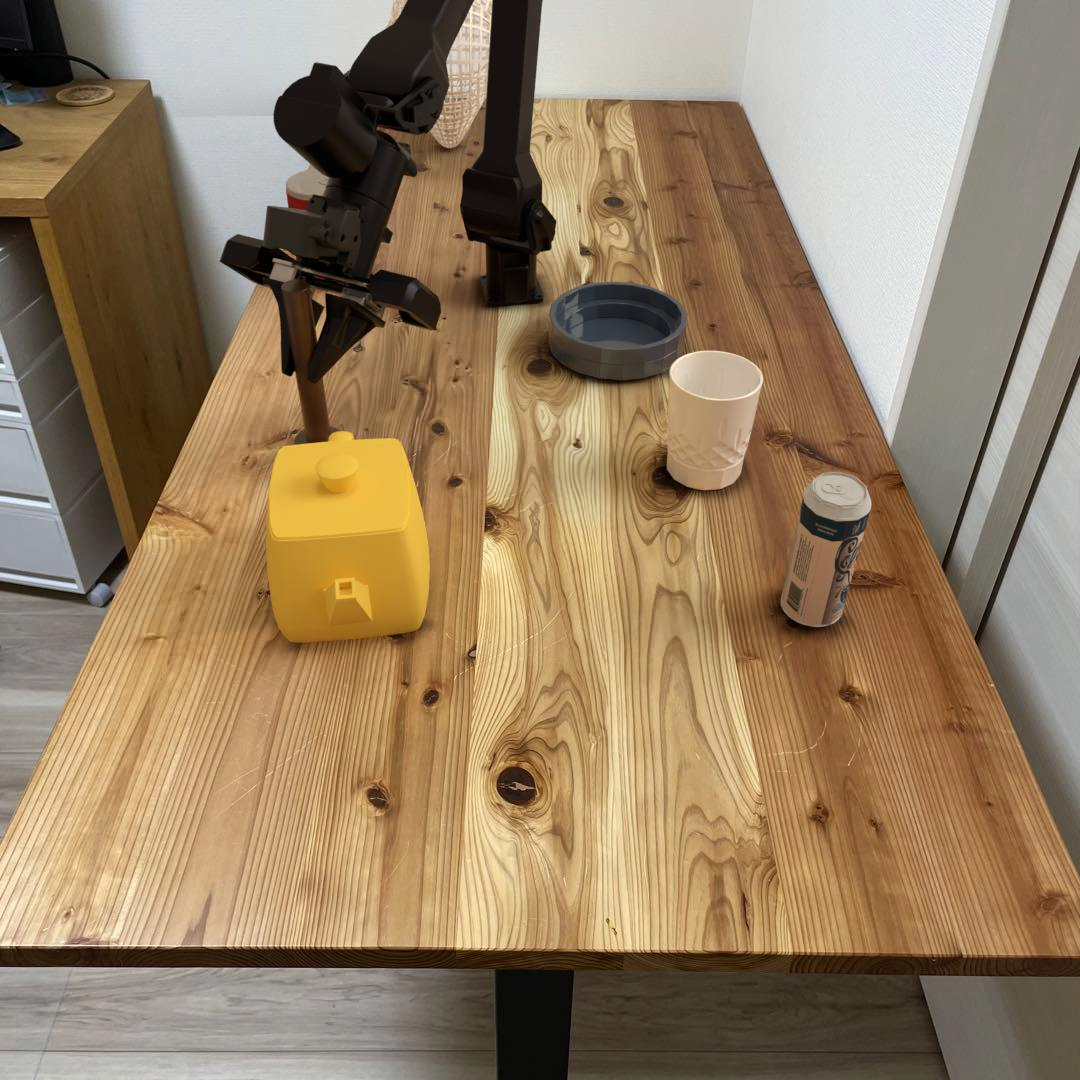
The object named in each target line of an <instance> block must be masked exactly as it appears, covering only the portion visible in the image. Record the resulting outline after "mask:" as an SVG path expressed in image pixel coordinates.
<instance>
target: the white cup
mask: <svg viewBox="0 0 1080 1080" xmlns="http://www.w3.org/2000/svg"><path fill="white" fill-rule="evenodd" d="M763 381H764V375H763V373H762V371H761V369H760V368H759V367H758V366H757V365H756V364H755V363H754V362H752V361H751V360H749V359H747V358H745V357H743V356H741V355H740V354H739V355H738V354H735V353H731V352H728V351H727V352H726V351H723V350H699V351H693V352H689V353H687V354H683V355H682V356H681V357H680V358H678V359H677V360H676V361H674V363H673V364H672V365H671V367H670V368H669V374H668V392H667V393H668V395H667V408H666V409H667V410H666V419H667V421H666V440H665V441H666V444H667V452H666V456H667V457H666V471H667V472H668V473H669V474H670V476H671V477H672V479H673V480H674V481H676V482H677V483H679V484H681V485H683V486H685V487H687V488H690V489H695V490H701V491H716V490H722V489H724V488H726V487H728V486H731V485H734V483H735V482H736V481H737V480H738V479H739V477H740V476H741V474H742V470H743V465H744V460H745V455H746V452H747V449H748V446H749V443H750V439H751V434H752V432H753V427H754V424H755V419H756V413H757V409H758V405H759V401H760V396H761V391H762V387H763V383H764V382H763Z"/></svg>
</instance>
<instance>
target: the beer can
mask: <svg viewBox="0 0 1080 1080" xmlns="http://www.w3.org/2000/svg"><path fill="white" fill-rule="evenodd" d="M871 510H872V499H871V496H870V493H869V491H868V486H867V485H866V484H865V483H864V482H862V481H861V480H860V479H859V478H858V477H857V476H855V475H851V474H848V473H845V472H843V471H842V472H841V471H832V472H821V474H819V475H818V476H817V477H815V478H813V479H812V481H811V482H810V483H809V484H808V485H806V487H805V489H803V495H802V500H801V505H800V510H799V514H798V518H797V523H796V529H795V531H794V537H793V542H792V547H791V551H790V556H789V561H788V565H787V570H786V574H785V579H784V584H783V587H782V593H781V597H780V606H781V609H782V611H783V612H784V613H785V614H786V615H787V617H788V618H790V619H791V620H792V621H794V622H796V623H799V624H801V625H803V626H808V627H810V628H822V627H829V626H831V625H833V624H835V623H837V621H839V620H840V619H841V618H842V616H843V612H844V609H845V605H846V602H847V597H848V594H849V590H850V586H851V583H852V579H853V575H854V572H855V567H856V564H857V560H858V557H859V554H860V549H861V546H862V542H863V539H864V535H865V531H866V527H867V523H868V520H869V516H870V514H871Z"/></svg>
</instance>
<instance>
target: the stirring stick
mask: <svg viewBox="0 0 1080 1080" xmlns="http://www.w3.org/2000/svg"><path fill="white" fill-rule="evenodd" d="M281 289H282V296H283V302H284V308H285V314H286V320H287V326H288V332H289V338H290V344H291V350H292V356H293V362H294V368H295V371H294V374H295V379H296V386H297V391H298V398H299V405H300V411H301V416H302V423H303V429H302V430H301V431H300V432H298V433H297V434H296V435H295V436H294V438H293V439H294V440H293V445H298V444H308V443H319V442H328V439H329V436H330V435H331V434H332V433H335V432H338V431H341V430H340V429H339V428H337V427H335V426H332V425H330V419H329V412H328V405H327V399H326V392H325V391H326V390H325V385H324V378H323V377H324V376H323V377H322V378H321V379H320V380H319V382H318V383H316V384H313V383H311V382H309V381H307V375H308V370H309V366H310V362H311V359H312V356H313V353H314V351H315V348H316V345H317V342H318V337H317V329H316V328H317V327H316V328H315V322H314V315H313V308H312V301H311V294H310V287H309V283H308V282H307V281H305V280H301V279H294V280H289V281H286V282H284V283H283V284H282V286H281Z"/></svg>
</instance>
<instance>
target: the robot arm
mask: <svg viewBox="0 0 1080 1080" xmlns="http://www.w3.org/2000/svg"><path fill="white" fill-rule="evenodd" d="M473 2H474V0H407V1H406V3H405V5H404V7H403V9H402V11H401V13H400V15H399V17H398V18H397V20H396V21H395V23H394V24H392V25H391V26H389V27H388V28H386V27H385V28H384V29H383V30H381V31H379V32H377V33H376V34H375V35H373V36H372V37H370V38H369V40H368V42H367V43H366V44H365V46H364V47H363V48H362V49H361V51H360V53H358V55H357V57H356V58H355V60H354V61H353V63H352V65H350V68H349V69H348V70H347V71H346V72H343V71H341V69H340V68H339V67H338V65H336V64H335V65H334V64H329V63H323V62H319V61H318V62H317V61H315V62H313V64H312V66H311V70H310V73H309V74H308V75H306V76H303V77H300V78H299V79H297V80H295V81H294V82H291V84H290V85H289V86H288V87H287V88H286V89H285V90H284V91H283V93H282V94H281V95H279V96H278V97H277V99H276V102H275V104H274V109H273V113H272V114H273V125H274V129H275V131H276V133H277V135H278V136H279V138H281V139H282V140H283V141H284V142H285V143H286V144H287V145H288V146H289V147H290V148H292V149H293V150H294V151H295V152H296V153H297V154H298V155H300V157H302V158H303V159H304V160H305V161H306V162H307V163H309V164H310V165H311V166H312V167H313V169H317V170H318V171H319V172H320V173H321V174H323V175H325V176H327V177H329V179H328V182H327V185H326V188H325V191H324V194H323V196H319V195H314V194H313V196H312V198H310V199H309V201H308V204H307V207H306V209H305V210H301V209H295V208H288V206H287V207H285V206H278V205H277V206H276V205H267V206H266V213H265V220H264V232H263V239H260V238H255V237H251V236H249V235H248V236H247V235H243V234H240V233H236V234H235V235H233V236H232V237H230V238H228V239H227V241H226V242H225V244H224V246H223V250H222V253H221V256H220V259H219V262H220V263H221V264H223V265H224V266H226V267H228V268H229V269H230V270H232V271H233V272H236V273H237V274H239V275H240V276H242V277H243V278H245V279H247V280H248V281H250V282H252V283H253V284H256V285H259V286H261V287H265V288H268V289H270V290H271V292H272V294H273V296H274V299H275V301H276V303H277V307H278V316H279V324H280V325H279V326H280V368H281V369H280V370H281V374H283V375H285V376H287V377H292V376H293V375H294V374H295V368H294V362H293V356H292V350H291V344H290V338H289V332H288V326H287V320H286V314H285V308H284V302H283V296H282V289H281V286H282V284H283V283H284V282H286V281H289V280H294V279H301V280H305V281H307V282H308V283H309V287H310V294H311V301H312V308H313V315H314V322H315V328H317V325H318V324H319V320H320V319H321V316H322V314H323V312H324V310H325V319H324V323H323V325H322V328H321V331H320V333H319V337H318V338H317V345H316V348H315V351H314V353H313V356H312V359H311V362H310V366H309V370H308V375H307V381H309V382H311V383H313V384H316V383H318V382H319V380H320V379H321V378H322V377H324V376H325V375H326V374H328V372H329V371H331V369H332V368H333V367H334V366H335V365H336V364H337V363H338V362H339V361H340V360H341V359H342V358H343V356H344V355H346V354H347V353H348V352H349V351H350V350H351V349H352V348H353V347H354V346H356V344H358V342H360V341H361V340H362V339H363V338H365V336H367V335H368V334H370V332H371V331H373V330H374V329H375V328H381V329H383V328H385V326H386V324H387V322H386V321H385V320H383V318H384V315H385V312H386V308H388V309H393V310H396V311H397V312H398V314H399V317H400V318H401V321H402V323H404V324H405V325H409V326H412V327H416V328H420V329H424V330H428V331H432V332H433V331H436V329H437V326H438V322H439V320H440V316H441V314H442V306H441V305H442V304H441V300H440V297H439V296H438V295H437V294H436V293H435V292H434V291H433V290H431V288H428V286H427V285H425V284H424V283H423V282H421V280H419V279H418V278H417V277H414V276H410V275H406V274H402V273H397V272H394V271H390V270H386V269H381V268H380V269H379V270H377V271H376V272H375V273H374V274H373V273H372V271H373V268H374V265H375V262H376V259H377V256H378V253H379V250H380V247H381V244H382V243H384V244H388V245H390V244H391V240H392V238H393V234H394V232H393V231H392V230H391V229H389V228H388V224H389V220H390V217H391V215H392V212H393V208H394V205H395V202H396V200H397V197H398V195H399V194H398V193H399V191H400V189H401V185H402V182H403V179H404V176H405V177H410V178H415V177H417V175H418V167H417V163H416V161H415V159H414V157H413V155H412V150H411V145H410V143H407V142H401V141H397V140H396V139H395V138H394V137H393V136H392V135H390V134H389V133H387V132H385V131H383V130H388V131H393V132H399V133H403V134H409V135H413V136H421V135H424V134H426V135H427V134H428V133H430V130H431V129H432V128H433V126H434V125H436V124H435V123H436V122H437V120H438V119H439V117H440V115H441V113H442V111H443V104H444V100H445V101H446V98H447V97H446V95H447V92H448V91H449V90H450V87H449V76H448V73H449V72H448V71H449V70H448V66H447V65H448V64H446V61H447V60H448V58H449V52H450V50H451V47H453V46H454V44H453V43H454V41H456V39H457V35H458V33H459V31H460V29H461V30H462V28H463V27H462V25H463V23H465V21H464V20H465V18H466V16H467V17H468V15H469V14H468V12H469V10H470V8H471V6H472V4H473ZM542 11H543V0H492V10H491V12H492V13H491V29H490V45H489V61H488V77H487V93H486V99H485V111H484V127H483V128H484V129H483V141H482V142H483V143H482V150H481V152H480V154H479V156H477V158H476V160H475V161H474V163H473V165H471V167H466V168H465V170H464V171H463V174H462V176H461V182H462V183H461V184H462V189H461V190H462V192H461V197H460V198H461V199H460V202H459V211H460V215H461V219H462V222H463V226H464V230H465V234H466V237H467V241H469V242H477V243H481V244H482V243H483V244H485V275H481V276H479V282H480V286H481V289H482V293H483V296H484V300H485V303H486V305H488V307H489V306H490V307H493V306H505V305H518V304H529V303H530V304H532V303H542V302H544V300H545V296H544V293H543V290H542V287H541V285H540V282H539V279H538V277H537V276H538V274H537V272H538V266H537V263H538V255H539V254H540V253H543V252H549V251H551V250H552V248H553V247H552V245H553V243H552V242H553V241H554V240H555V235H556V227H557V219H556V218H555V217H554V216H553V214H552V213H551V212H550V210H549V209H548V207H547V206H546V204H545V203H544V202H543V179H542V176H541V174H540V172H539V170H538V167H537V165H536V163H535V161H534V158H533V156H532V154H531V141H532V140H531V139H532V129H533V116H534V106H535V93H536V81H537V70H538V69H537V68H538V57H539V46H540V35H541V24H542V23H541V22H542ZM378 128H379V129H383V130H378ZM284 251H285V252H284ZM286 251H287V252H288V253H290V254H291V255H293V256H295V257H296V256H298V257H300V258H301V261H297V260H296V258H293V256H290V255H289V254H287V253H286ZM314 276H316V277H320V278H324V279H320V278H316V277H314ZM339 282H340V283H343V284H339ZM316 289H317V290H320V291H324V292H325V294H324V297H325V300H324V301H325V306H324V305H323V304H321V303H319V302H318V301H316V300H315V299H313V298H314V295H315V291H316ZM327 292H328V293H327ZM331 293H332V294H331ZM339 295H340V296H339Z"/></svg>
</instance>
